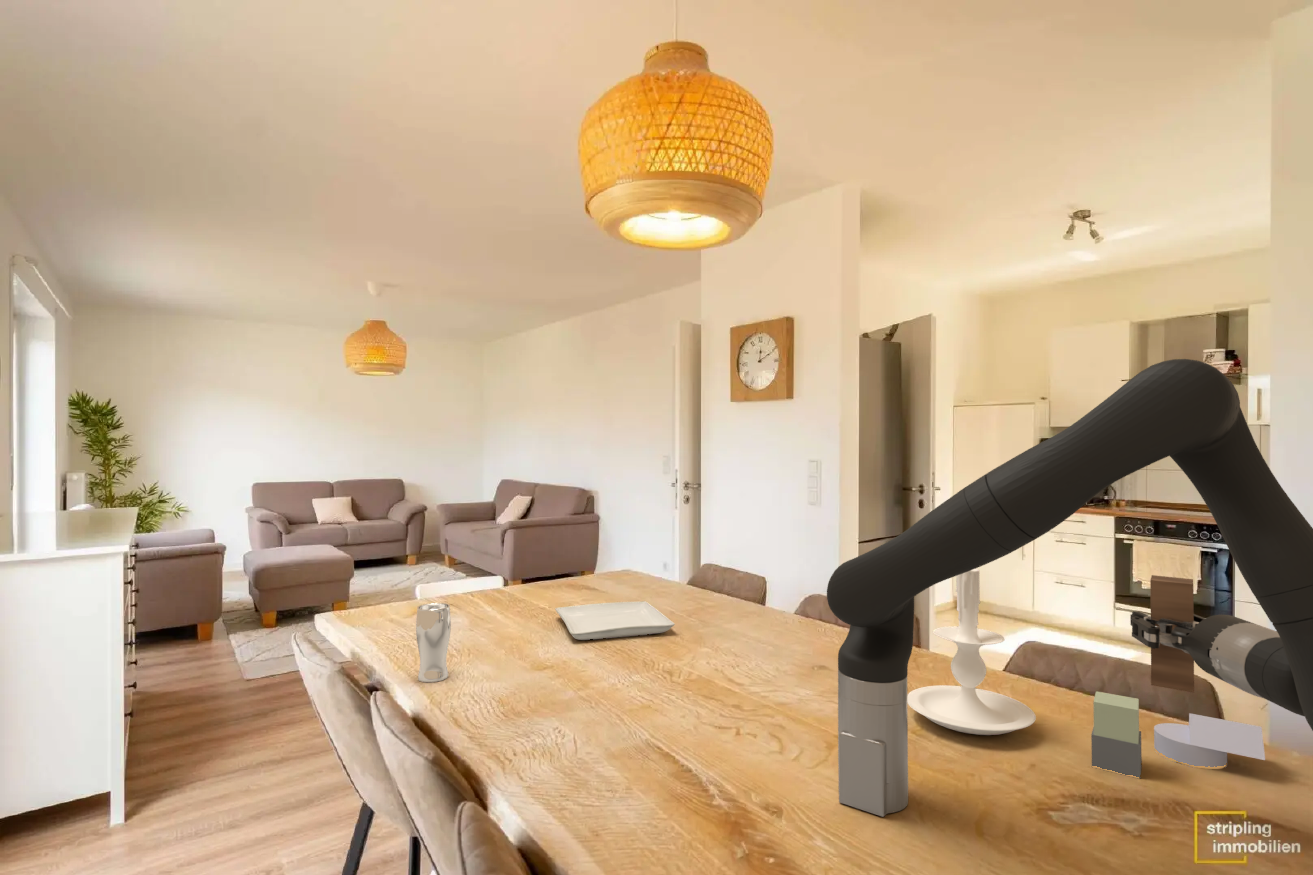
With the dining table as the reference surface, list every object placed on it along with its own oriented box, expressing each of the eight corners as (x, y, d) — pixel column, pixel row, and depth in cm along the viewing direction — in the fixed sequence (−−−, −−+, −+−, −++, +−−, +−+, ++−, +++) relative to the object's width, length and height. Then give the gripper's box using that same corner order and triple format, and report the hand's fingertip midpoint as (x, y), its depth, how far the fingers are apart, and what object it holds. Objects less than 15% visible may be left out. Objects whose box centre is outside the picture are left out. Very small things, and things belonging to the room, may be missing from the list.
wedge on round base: (1258, 760, 105) (1154, 738, 113) (1258, 717, 105) (1154, 698, 113) (1265, 783, 98) (1153, 758, 105) (1264, 736, 98) (1153, 715, 106)
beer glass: (408, 679, 141) (408, 607, 141) (433, 670, 147) (434, 601, 147) (432, 685, 138) (433, 611, 138) (457, 675, 144) (457, 604, 144)
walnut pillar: (1194, 692, 87) (1193, 584, 88) (1151, 685, 90) (1150, 579, 90) (1193, 683, 91) (1193, 579, 91) (1152, 676, 94) (1151, 575, 94)
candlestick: (1030, 705, 127) (1029, 556, 128) (1040, 759, 105) (1039, 579, 105) (913, 688, 136) (913, 549, 137) (900, 735, 114) (899, 568, 114)
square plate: (554, 619, 192) (554, 606, 192) (646, 612, 200) (646, 599, 200) (571, 646, 166) (571, 630, 166) (676, 637, 174) (676, 622, 174)
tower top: (1138, 744, 99) (1137, 709, 99) (1093, 734, 103) (1093, 701, 103) (1139, 731, 104) (1138, 698, 104) (1096, 722, 107) (1096, 691, 107)
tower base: (1140, 779, 99) (1140, 744, 99) (1091, 767, 103) (1091, 734, 103) (1141, 763, 104) (1141, 731, 104) (1095, 753, 107) (1094, 721, 107)
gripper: (1320, 626, 76) (1218, 594, 92) (1179, 620, 78) (1104, 590, 94) (1321, 693, 75) (1219, 649, 92) (1179, 686, 77) (1104, 644, 94)
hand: (1161, 619), depth 93 cm, fingers closed on walnut pillar, 6 cm apart
